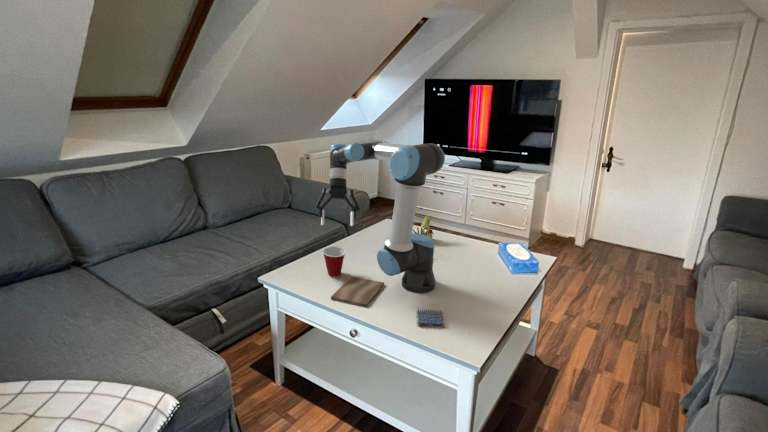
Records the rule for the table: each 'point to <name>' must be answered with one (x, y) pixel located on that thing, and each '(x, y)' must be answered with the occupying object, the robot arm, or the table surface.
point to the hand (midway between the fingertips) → (337, 225)
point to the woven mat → (430, 318)
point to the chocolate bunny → (427, 226)
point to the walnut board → (358, 291)
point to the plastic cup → (334, 260)
